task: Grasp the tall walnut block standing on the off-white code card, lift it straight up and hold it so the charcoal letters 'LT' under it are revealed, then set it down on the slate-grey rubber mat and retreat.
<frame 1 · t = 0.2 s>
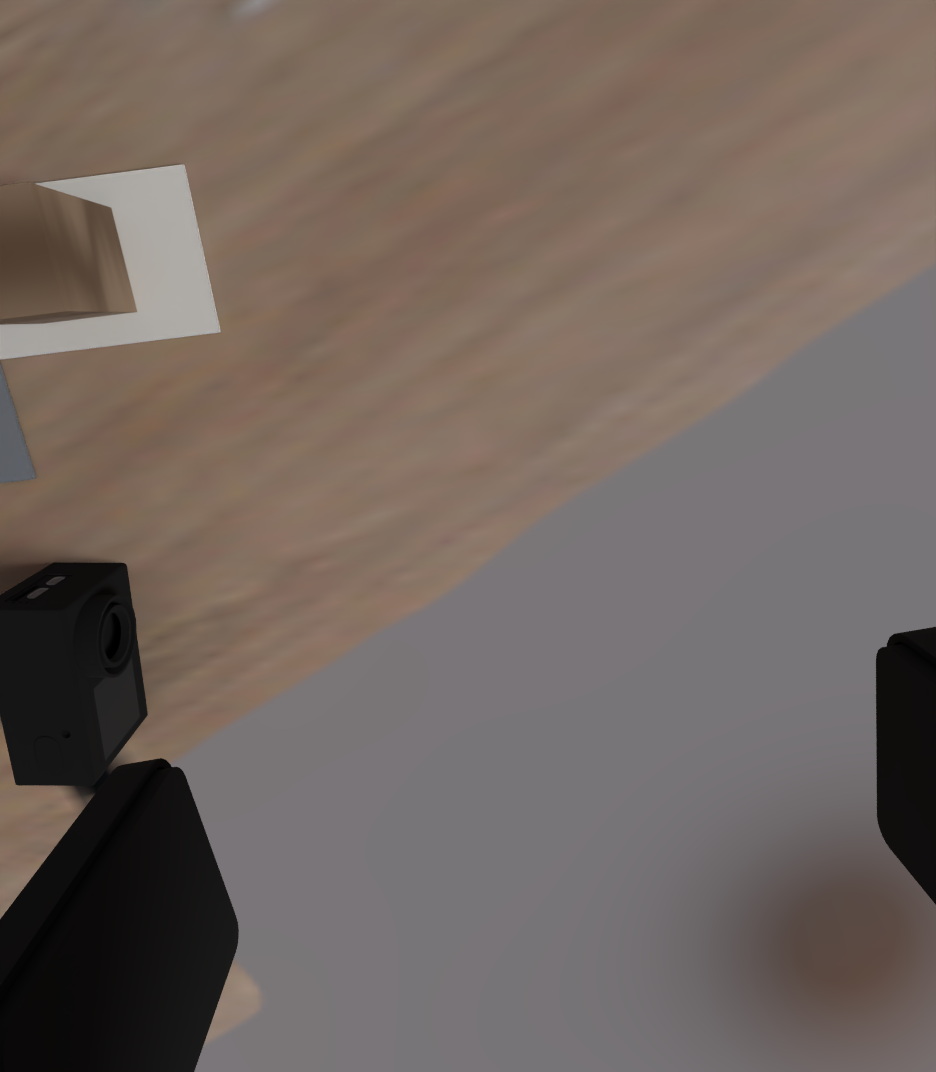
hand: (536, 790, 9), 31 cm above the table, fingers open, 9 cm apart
code card: (78, 267, 36), on the table
walnut block: (76, 266, 36), resting on code card
digital camera: (115, 640, 43), on the table
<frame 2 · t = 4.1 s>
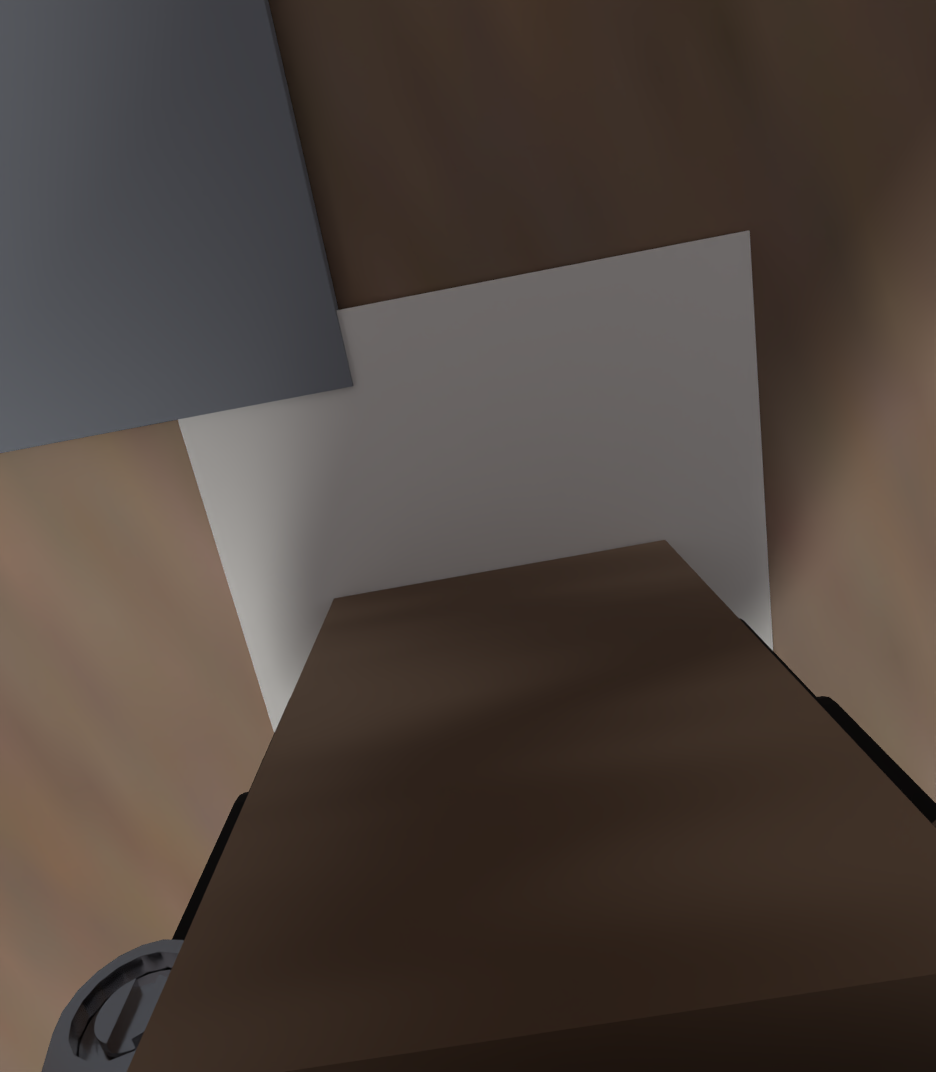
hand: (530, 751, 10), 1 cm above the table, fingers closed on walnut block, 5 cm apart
code card: (522, 706, 11), on the table
walnut block: (524, 714, 11), resting on code card, touching gripper
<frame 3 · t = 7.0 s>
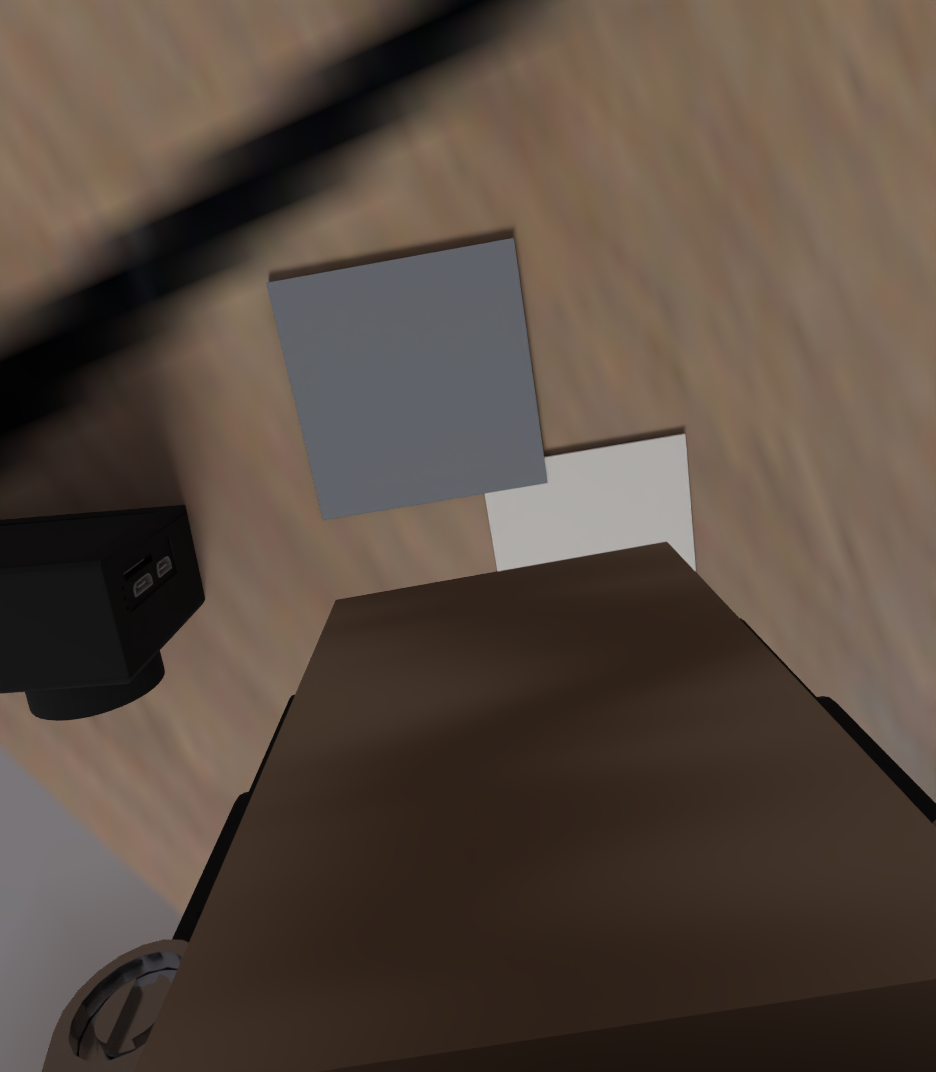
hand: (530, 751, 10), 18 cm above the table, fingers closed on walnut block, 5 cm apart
code card: (599, 602, 29), on the table
rubber mat: (413, 386, 26), on the table
walnut block: (525, 715, 11), point 17 cm above the table, touching gripper
digital camera: (78, 576, 29), on the table
when the fingers open (2 cm above the table, at t = 9.8 s): walnut block drops 1 cm, resting on rubber mat.
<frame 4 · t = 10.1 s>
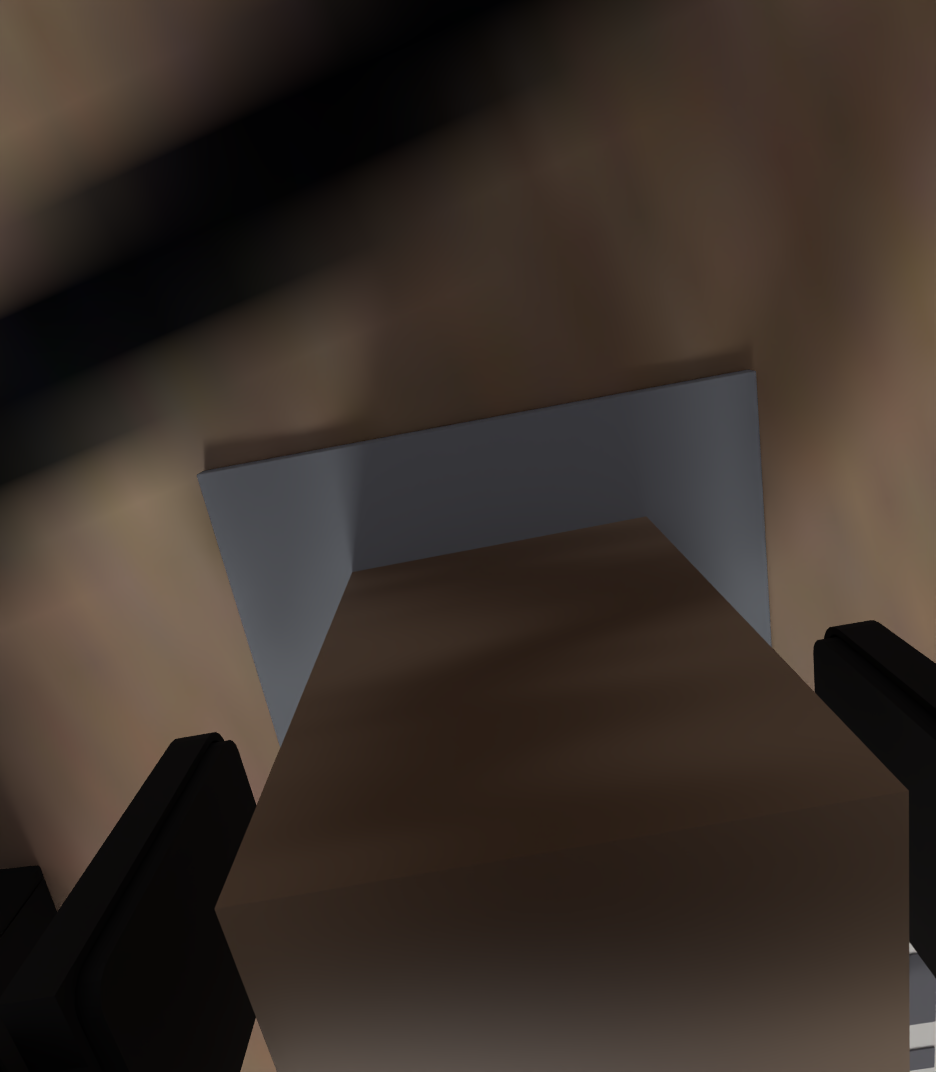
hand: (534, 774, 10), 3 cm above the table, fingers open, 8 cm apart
code card: (855, 1018, 15), on the table
rubber mat: (515, 665, 13), on the table
walnut block: (523, 675, 12), resting on rubber mat
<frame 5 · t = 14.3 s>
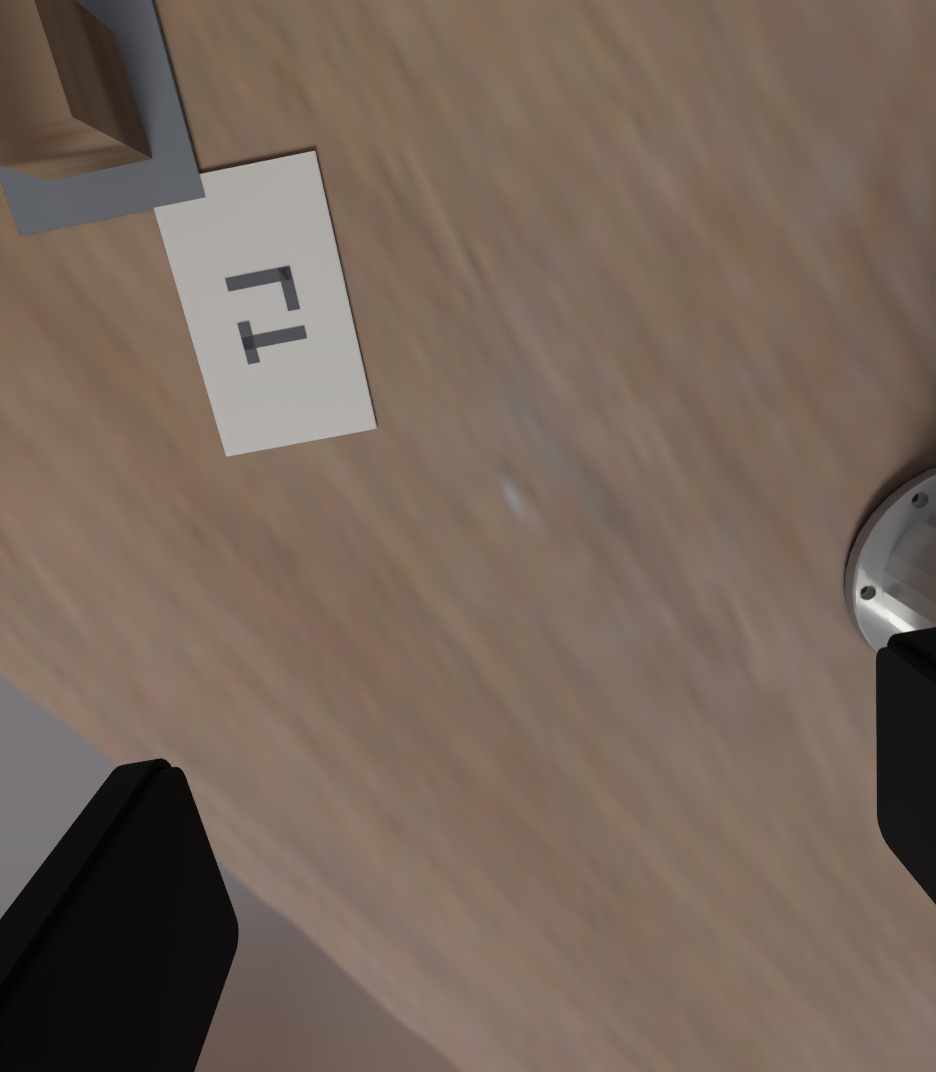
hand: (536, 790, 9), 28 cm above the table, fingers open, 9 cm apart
code card: (268, 313, 34), on the table
rubber mat: (81, 110, 32), on the table
walnut block: (80, 109, 31), resting on rubber mat
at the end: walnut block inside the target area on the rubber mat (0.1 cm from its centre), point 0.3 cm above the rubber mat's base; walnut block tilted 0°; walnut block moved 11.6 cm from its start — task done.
